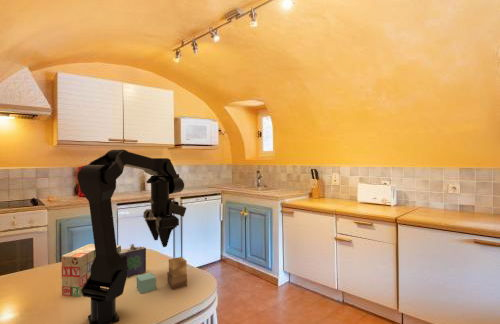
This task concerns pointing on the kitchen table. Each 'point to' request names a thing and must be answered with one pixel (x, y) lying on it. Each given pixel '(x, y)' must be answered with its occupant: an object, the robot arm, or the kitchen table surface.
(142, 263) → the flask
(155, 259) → the kitchen table surface
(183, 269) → the oak cube
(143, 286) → the tower base
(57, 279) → the kitchen table surface
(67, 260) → the stack of blocks
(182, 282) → the walnut block
